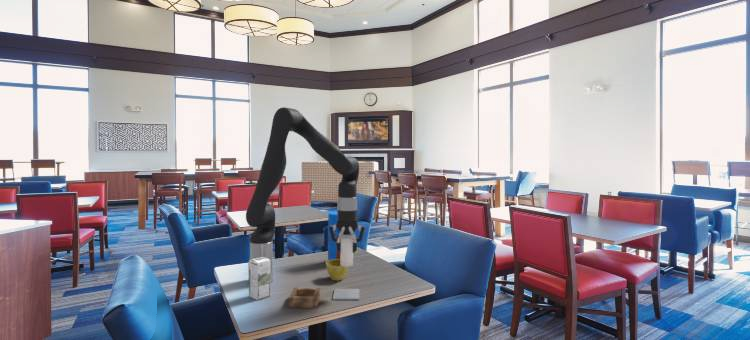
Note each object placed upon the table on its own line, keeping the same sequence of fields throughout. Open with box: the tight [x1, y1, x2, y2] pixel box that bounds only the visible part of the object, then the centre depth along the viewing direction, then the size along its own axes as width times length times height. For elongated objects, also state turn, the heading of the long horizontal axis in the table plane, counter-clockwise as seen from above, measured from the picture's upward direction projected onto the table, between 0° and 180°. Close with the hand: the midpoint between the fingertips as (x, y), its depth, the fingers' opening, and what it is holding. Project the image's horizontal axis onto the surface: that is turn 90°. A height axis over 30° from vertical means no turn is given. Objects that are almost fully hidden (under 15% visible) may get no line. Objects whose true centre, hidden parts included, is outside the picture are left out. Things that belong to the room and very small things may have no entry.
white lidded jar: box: [340, 234, 354, 267], centre depth 146 cm, size 5×5×12 cm
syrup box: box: [248, 257, 271, 301], centre depth 144 cm, size 6×6×14 cm
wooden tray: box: [288, 287, 321, 309], centre depth 139 cm, size 10×10×4 cm
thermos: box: [327, 211, 340, 261], centre depth 189 cm, size 11×11×25 cm
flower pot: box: [325, 259, 349, 281], centre depth 166 cm, size 10×10×7 cm
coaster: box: [332, 288, 361, 301], centre depth 147 cm, size 10×10×1 cm
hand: (346, 251), depth 146 cm, fingers closed on white lidded jar, 5 cm apart
